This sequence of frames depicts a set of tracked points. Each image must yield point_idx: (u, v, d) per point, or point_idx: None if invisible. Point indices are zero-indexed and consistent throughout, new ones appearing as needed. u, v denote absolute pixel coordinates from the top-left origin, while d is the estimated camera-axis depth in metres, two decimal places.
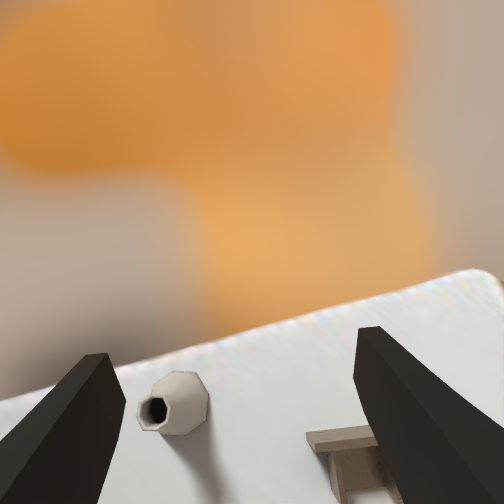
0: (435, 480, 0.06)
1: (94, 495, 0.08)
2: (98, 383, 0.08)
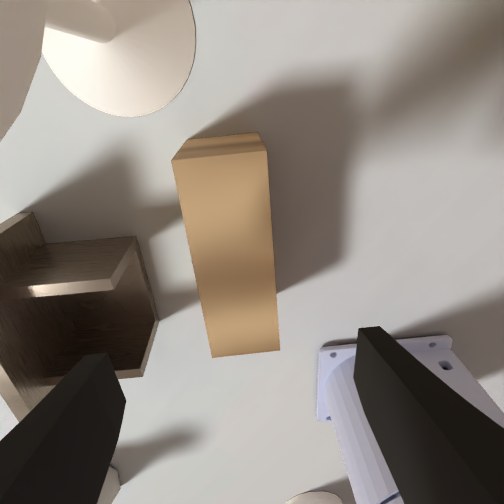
0: (435, 480, 0.06)
1: (94, 495, 0.08)
2: (98, 383, 0.08)
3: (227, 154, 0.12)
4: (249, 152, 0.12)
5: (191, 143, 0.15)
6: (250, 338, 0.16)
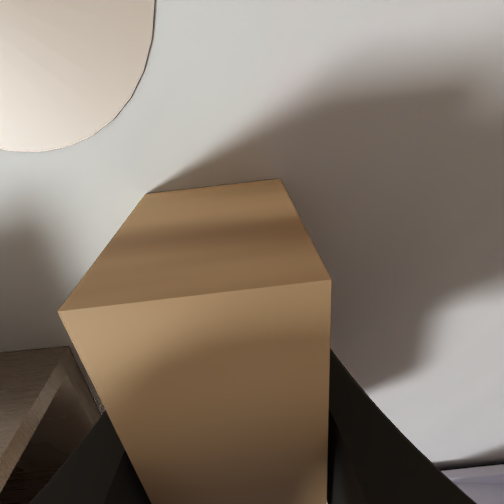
0: (343, 490, 0.06)
1: None
2: None
3: (219, 290, 0.04)
4: (282, 284, 0.04)
5: (147, 212, 0.07)
6: None
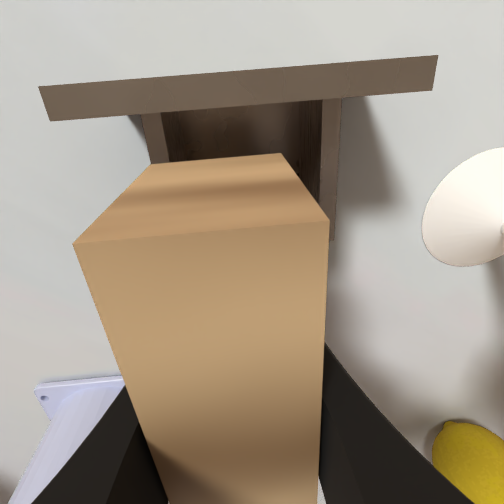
0: (341, 490, 0.06)
1: None
2: None
3: (225, 228, 0.04)
4: (283, 224, 0.04)
5: (153, 177, 0.07)
6: None
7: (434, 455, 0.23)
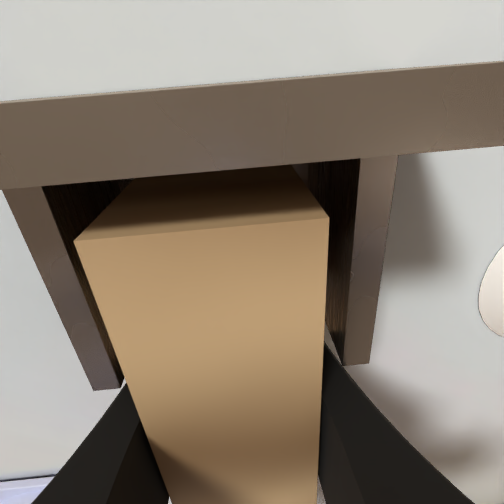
0: (341, 490, 0.06)
1: None
2: None
3: (225, 226, 0.04)
4: (283, 222, 0.04)
5: None
6: None
7: None
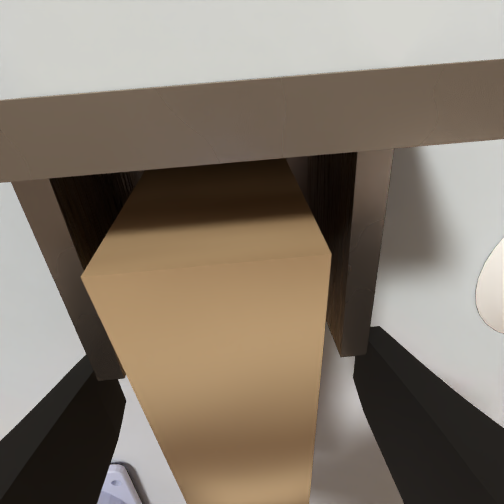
0: (435, 480, 0.06)
1: (94, 495, 0.08)
2: (98, 383, 0.08)
3: (229, 261, 0.05)
4: (286, 257, 0.05)
5: (153, 182, 0.07)
6: None
7: None
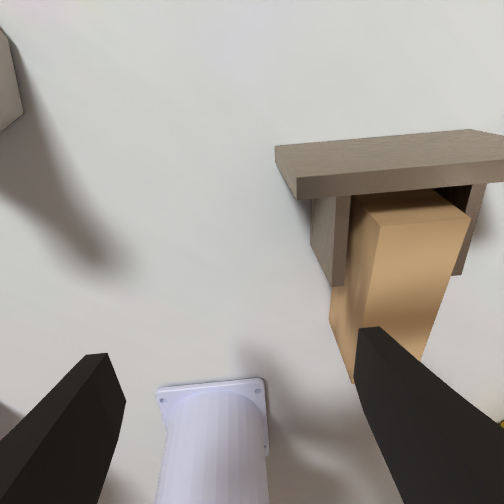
0: (435, 480, 0.06)
1: (94, 495, 0.08)
2: (98, 383, 0.08)
3: (433, 221, 0.12)
4: (454, 219, 0.12)
5: None
6: None
7: None
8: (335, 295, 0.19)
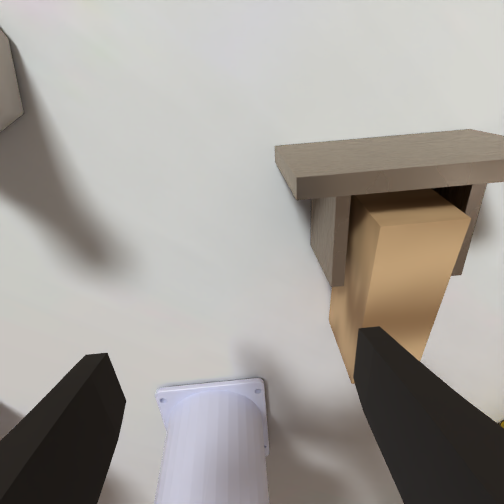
0: (435, 480, 0.06)
1: (94, 495, 0.08)
2: (98, 383, 0.08)
3: (433, 221, 0.12)
4: (454, 219, 0.12)
5: None
6: None
7: None
8: (335, 295, 0.19)
